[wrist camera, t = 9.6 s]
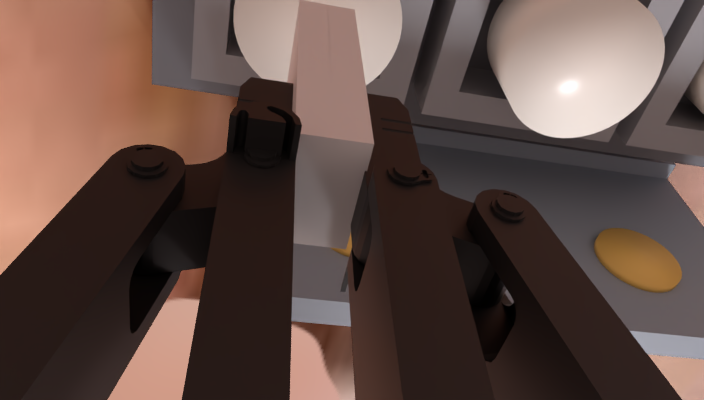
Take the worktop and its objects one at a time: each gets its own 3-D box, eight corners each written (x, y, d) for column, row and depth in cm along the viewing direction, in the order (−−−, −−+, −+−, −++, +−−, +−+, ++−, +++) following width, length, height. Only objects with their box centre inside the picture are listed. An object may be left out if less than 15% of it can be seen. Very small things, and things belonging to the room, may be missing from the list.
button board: (910, -89, 26) (1017, -53, 22) (744, 149, 33) (802, 208, 29) (169, -268, 21) (136, -262, 17) (162, 58, 28) (139, 114, 24)
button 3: (408, -73, 20) (421, -45, 18) (374, 70, 24) (381, 109, 21) (249, -105, 20) (241, -80, 17) (235, 47, 23) (226, 86, 20)
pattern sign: (667, 154, 33) (809, 331, 24) (640, 198, 35) (762, 379, 25) (249, 90, 29) (220, 270, 20) (243, 143, 31) (214, 331, 22)
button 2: (654, -22, 22) (695, 10, 20) (591, 106, 25) (619, 147, 23) (516, -50, 21) (541, -20, 19) (468, 86, 24) (485, 126, 22)
